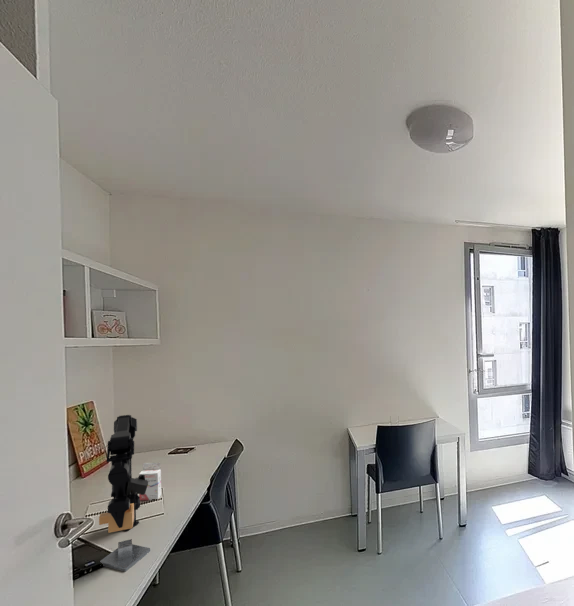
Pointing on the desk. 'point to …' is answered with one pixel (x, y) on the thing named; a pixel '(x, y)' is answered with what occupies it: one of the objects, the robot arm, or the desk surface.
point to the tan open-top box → (112, 525)
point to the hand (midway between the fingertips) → (121, 522)
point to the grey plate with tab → (125, 556)
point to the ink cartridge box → (151, 481)
